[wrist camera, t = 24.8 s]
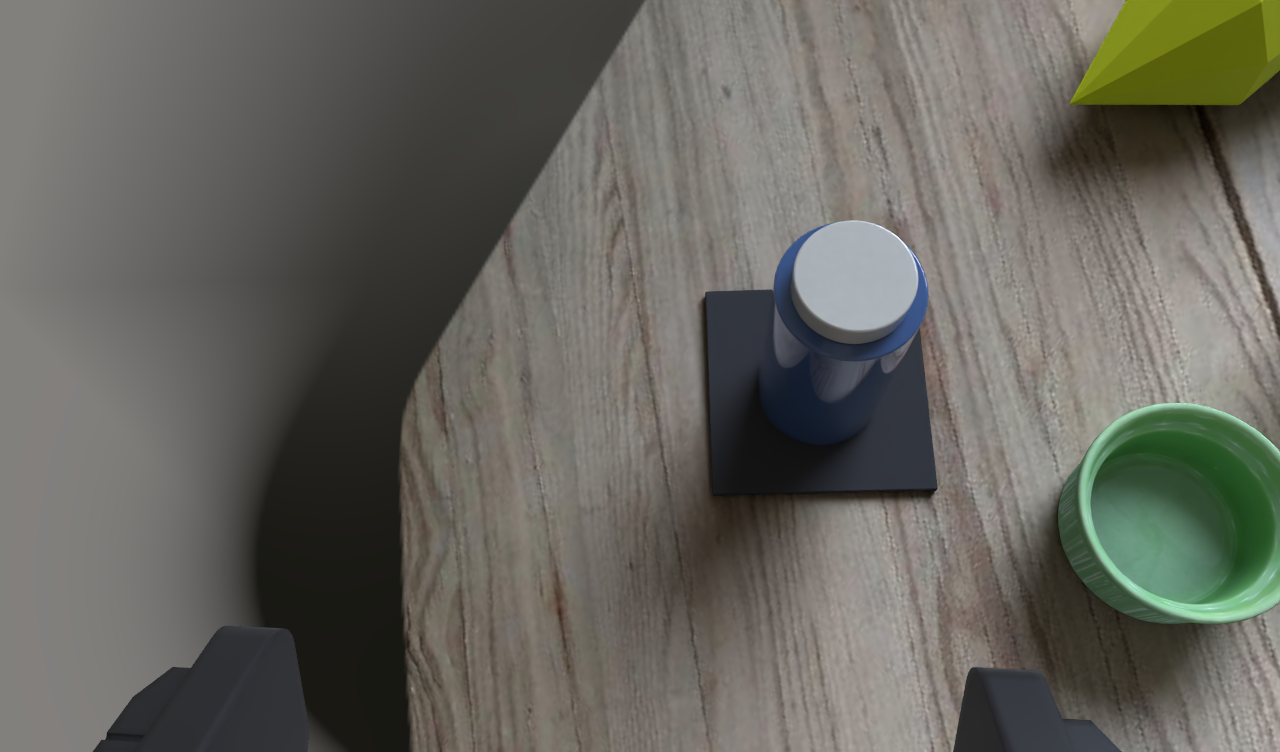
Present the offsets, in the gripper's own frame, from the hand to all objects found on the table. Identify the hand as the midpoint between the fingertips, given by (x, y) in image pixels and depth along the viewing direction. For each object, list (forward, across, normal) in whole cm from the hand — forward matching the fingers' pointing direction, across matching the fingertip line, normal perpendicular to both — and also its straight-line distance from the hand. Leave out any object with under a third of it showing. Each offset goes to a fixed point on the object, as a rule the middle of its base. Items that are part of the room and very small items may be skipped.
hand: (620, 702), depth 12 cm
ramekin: (+30, -20, +16) cm, 40 cm away
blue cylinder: (+34, -6, +12) cm, 36 cm away
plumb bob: (+49, -28, -3) cm, 57 cm away
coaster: (+34, -6, +12) cm, 37 cm away
